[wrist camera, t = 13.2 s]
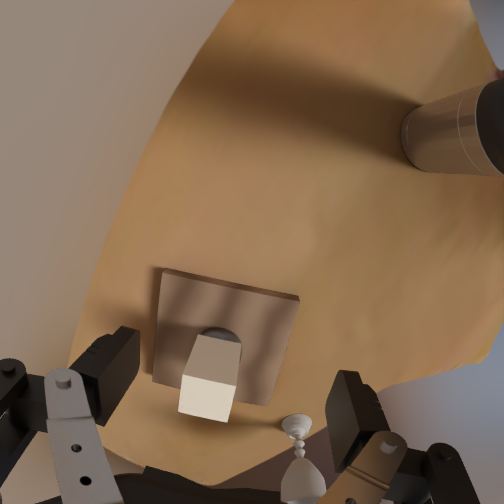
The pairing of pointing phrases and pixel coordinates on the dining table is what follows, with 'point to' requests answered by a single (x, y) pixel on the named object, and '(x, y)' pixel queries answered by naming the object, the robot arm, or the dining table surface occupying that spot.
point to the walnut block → (226, 316)
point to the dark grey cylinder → (222, 335)
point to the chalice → (300, 467)
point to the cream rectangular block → (210, 378)
